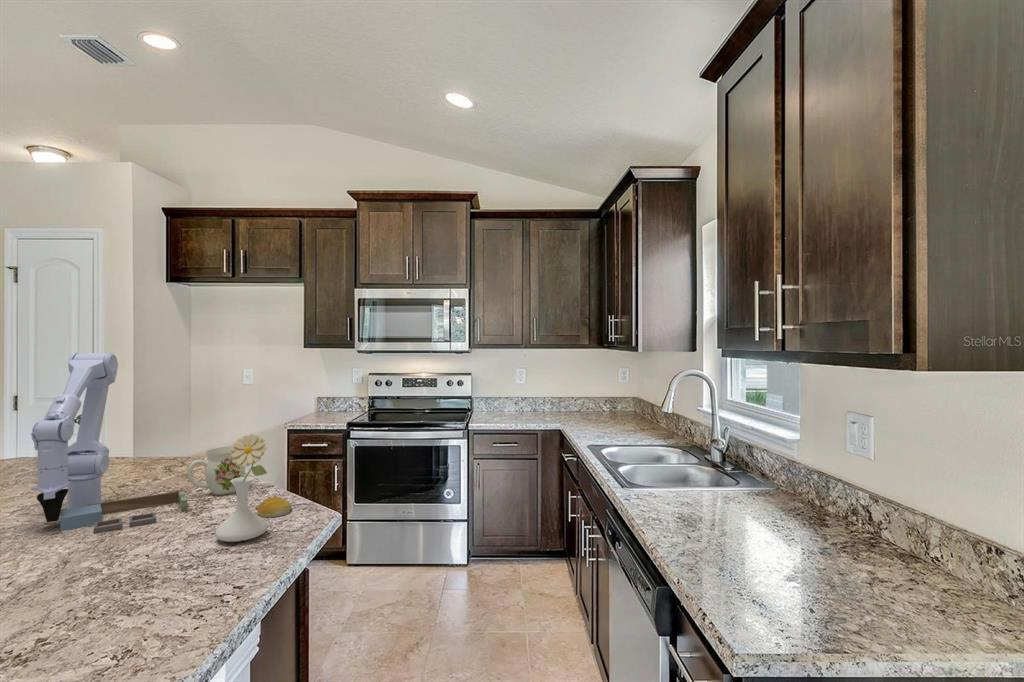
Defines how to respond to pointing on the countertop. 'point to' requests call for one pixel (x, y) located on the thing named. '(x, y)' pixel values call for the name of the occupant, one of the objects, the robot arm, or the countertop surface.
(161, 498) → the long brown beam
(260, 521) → the flower in vase
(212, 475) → the pitcher
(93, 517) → the slate block
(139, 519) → the grey double frame
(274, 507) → the bread roll
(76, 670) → the countertop surface
